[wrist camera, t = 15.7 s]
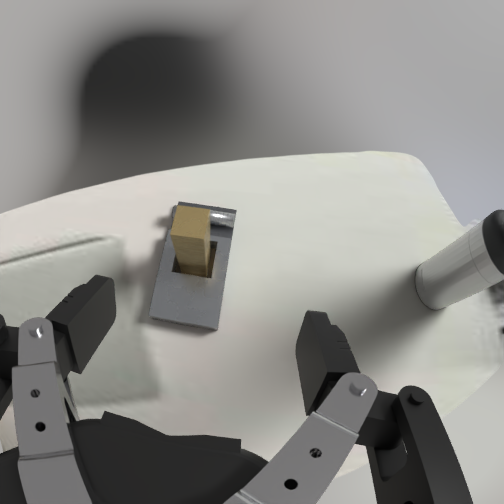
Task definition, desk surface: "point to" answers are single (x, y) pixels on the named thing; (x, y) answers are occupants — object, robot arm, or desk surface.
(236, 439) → the robot arm
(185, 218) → the pine wood offcut
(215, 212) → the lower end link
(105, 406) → the desk surface
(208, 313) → the upper end link
